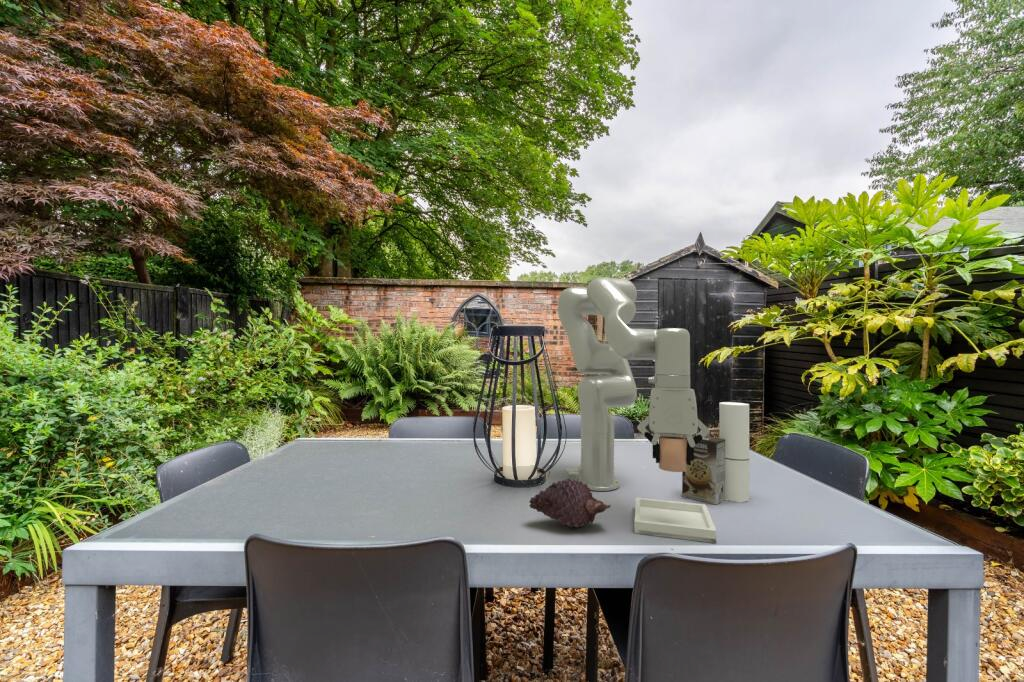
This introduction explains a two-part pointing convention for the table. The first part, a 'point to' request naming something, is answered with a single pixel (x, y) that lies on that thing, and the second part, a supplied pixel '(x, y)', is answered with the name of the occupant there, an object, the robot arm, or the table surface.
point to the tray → (674, 520)
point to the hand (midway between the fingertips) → (672, 462)
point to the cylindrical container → (735, 449)
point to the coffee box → (706, 472)
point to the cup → (673, 453)
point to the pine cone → (568, 503)
